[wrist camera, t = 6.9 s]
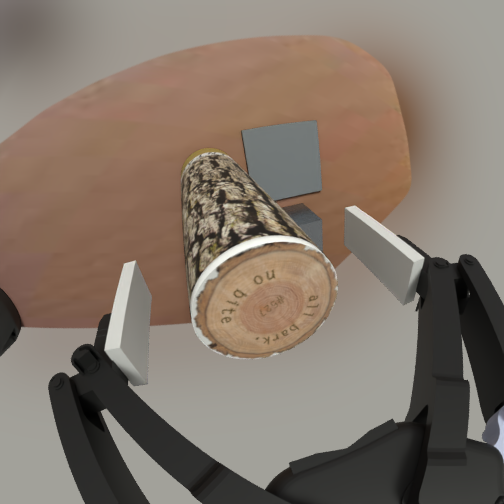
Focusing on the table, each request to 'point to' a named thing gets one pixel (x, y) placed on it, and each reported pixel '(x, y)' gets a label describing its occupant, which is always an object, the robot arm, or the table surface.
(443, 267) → the robot arm
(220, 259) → the paper tube
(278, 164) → the mat
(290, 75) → the table surface
